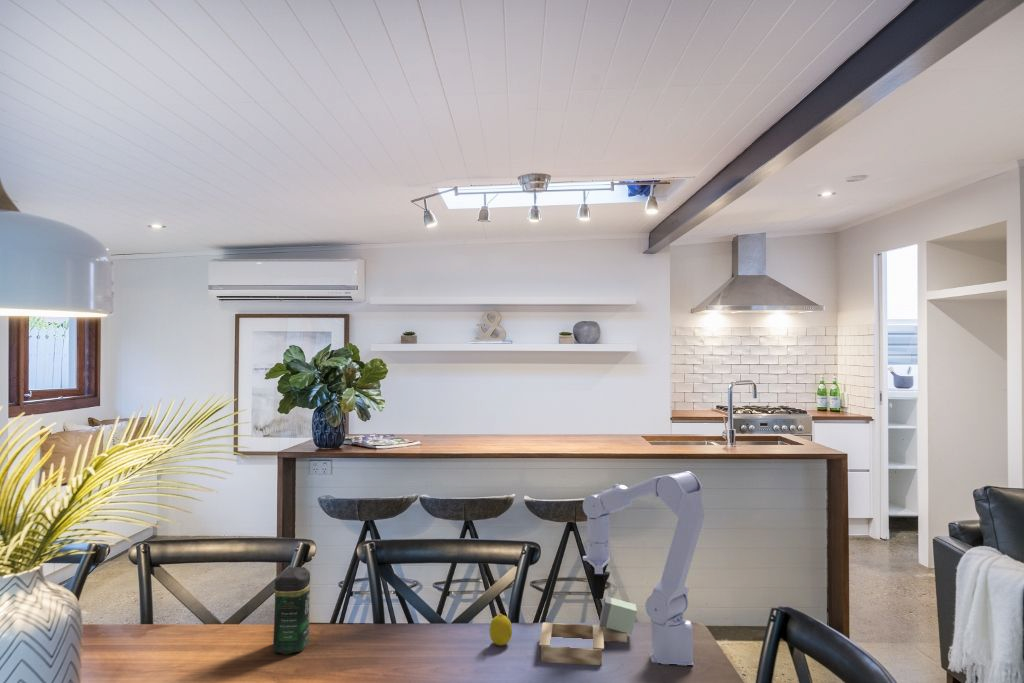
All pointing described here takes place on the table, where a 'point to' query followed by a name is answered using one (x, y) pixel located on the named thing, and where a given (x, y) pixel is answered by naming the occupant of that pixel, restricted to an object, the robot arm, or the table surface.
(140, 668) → the table surface
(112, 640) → the table surface
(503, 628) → the lemon
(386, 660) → the table surface
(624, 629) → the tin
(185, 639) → the table surface
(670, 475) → the robot arm
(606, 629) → the oak stand
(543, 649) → the wooden tray
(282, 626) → the coffee jar
